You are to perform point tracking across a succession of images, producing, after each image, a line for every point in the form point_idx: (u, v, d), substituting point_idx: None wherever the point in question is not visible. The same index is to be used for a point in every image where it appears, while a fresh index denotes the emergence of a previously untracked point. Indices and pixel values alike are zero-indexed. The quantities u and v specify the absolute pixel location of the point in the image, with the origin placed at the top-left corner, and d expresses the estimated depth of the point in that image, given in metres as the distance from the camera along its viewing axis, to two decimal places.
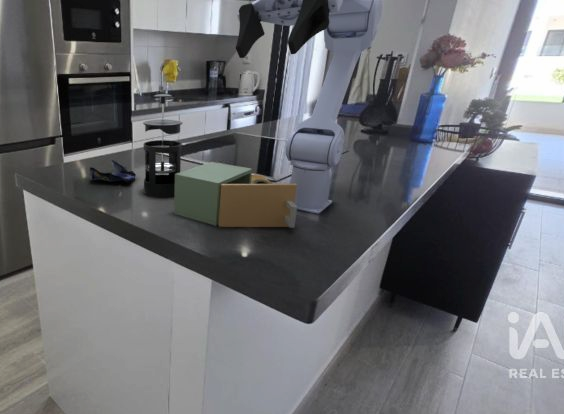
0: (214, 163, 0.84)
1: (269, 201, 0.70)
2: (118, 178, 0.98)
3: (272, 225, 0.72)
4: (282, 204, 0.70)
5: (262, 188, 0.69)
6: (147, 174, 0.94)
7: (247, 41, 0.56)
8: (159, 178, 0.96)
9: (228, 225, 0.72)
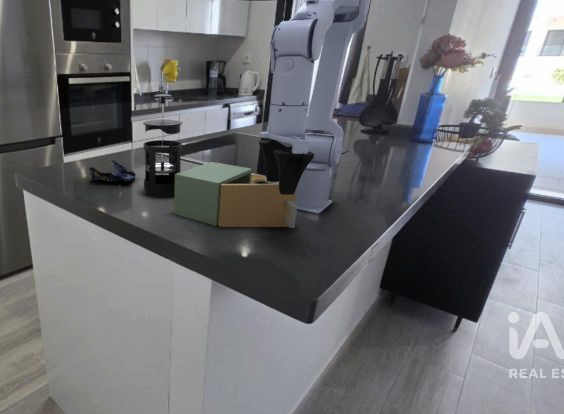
0: (214, 163, 0.84)
1: (269, 201, 0.70)
2: (118, 178, 0.98)
3: (272, 225, 0.72)
4: (282, 204, 0.70)
5: (262, 188, 0.69)
6: (147, 174, 0.94)
7: (274, 168, 0.67)
8: (159, 178, 0.96)
9: (228, 225, 0.72)
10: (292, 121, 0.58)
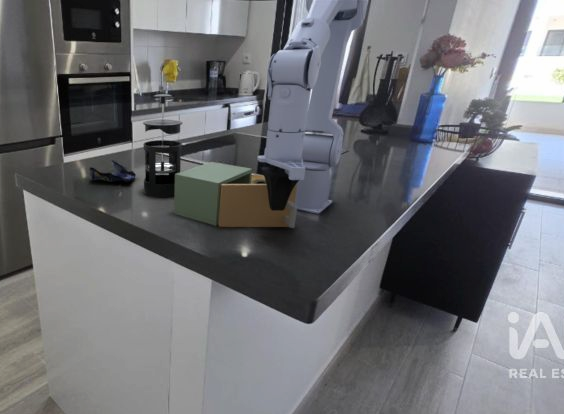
0: (214, 163, 0.84)
1: None
2: (118, 178, 0.98)
3: (272, 225, 0.72)
4: None
5: (262, 188, 0.69)
6: (147, 174, 0.94)
7: None
8: (159, 178, 0.96)
9: (228, 225, 0.72)
10: (289, 147, 0.59)
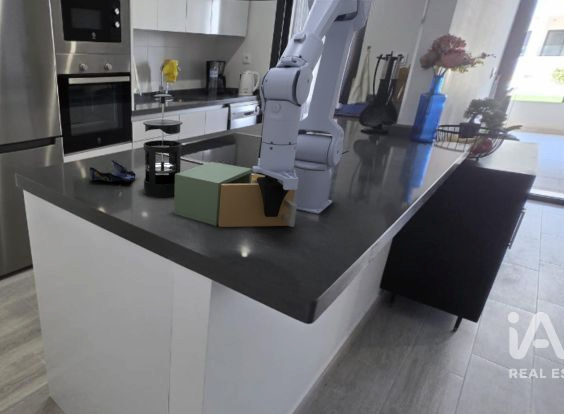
0: (214, 163, 0.84)
1: None
2: (118, 178, 0.98)
3: (271, 224, 0.72)
4: None
5: None
6: (147, 174, 0.94)
7: (273, 204, 0.69)
8: (159, 178, 0.96)
9: (228, 225, 0.72)
10: (282, 158, 0.63)
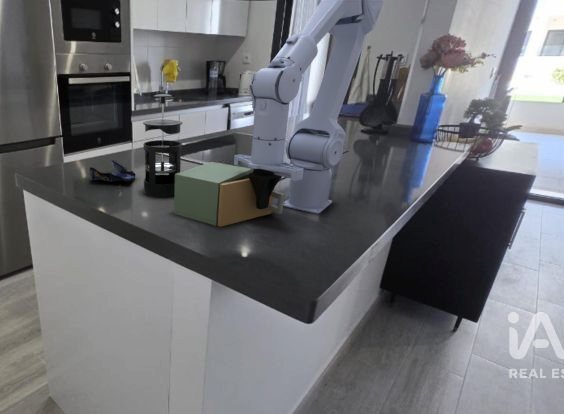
0: (214, 163, 0.84)
1: None
2: (118, 178, 0.98)
3: (258, 215, 0.77)
4: None
5: None
6: (147, 174, 0.94)
7: (264, 197, 0.73)
8: (159, 178, 0.96)
9: (227, 223, 0.73)
10: (279, 152, 0.68)
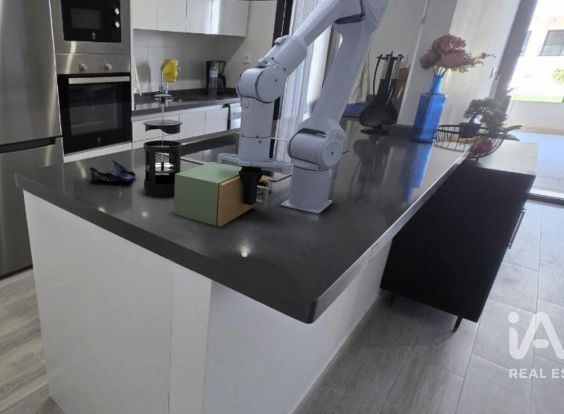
0: (214, 163, 0.84)
1: None
2: (118, 178, 0.98)
3: (245, 210, 0.79)
4: None
5: None
6: (147, 174, 0.94)
7: (253, 193, 0.75)
8: (159, 178, 0.96)
9: (225, 222, 0.73)
10: (267, 149, 0.71)
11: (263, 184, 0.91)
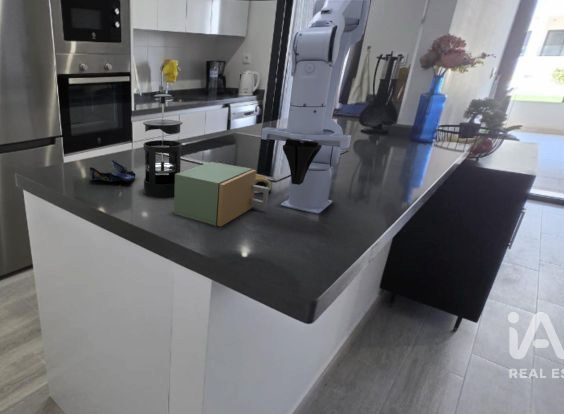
0: (214, 163, 0.84)
1: (244, 189, 0.77)
2: (118, 178, 0.98)
3: (245, 210, 0.79)
4: (249, 189, 0.79)
5: (242, 179, 0.75)
6: (147, 174, 0.94)
7: None
8: (159, 178, 0.96)
9: (225, 222, 0.73)
10: (322, 120, 0.63)
11: (263, 184, 0.91)
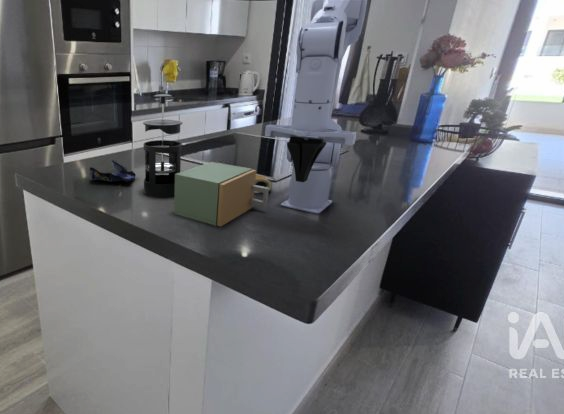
0: (214, 163, 0.84)
1: (244, 189, 0.77)
2: (118, 178, 0.98)
3: (245, 210, 0.79)
4: (249, 189, 0.79)
5: (242, 179, 0.75)
6: (147, 174, 0.94)
7: None
8: (159, 178, 0.96)
9: (225, 222, 0.73)
10: (327, 117, 0.62)
11: (263, 184, 0.91)
